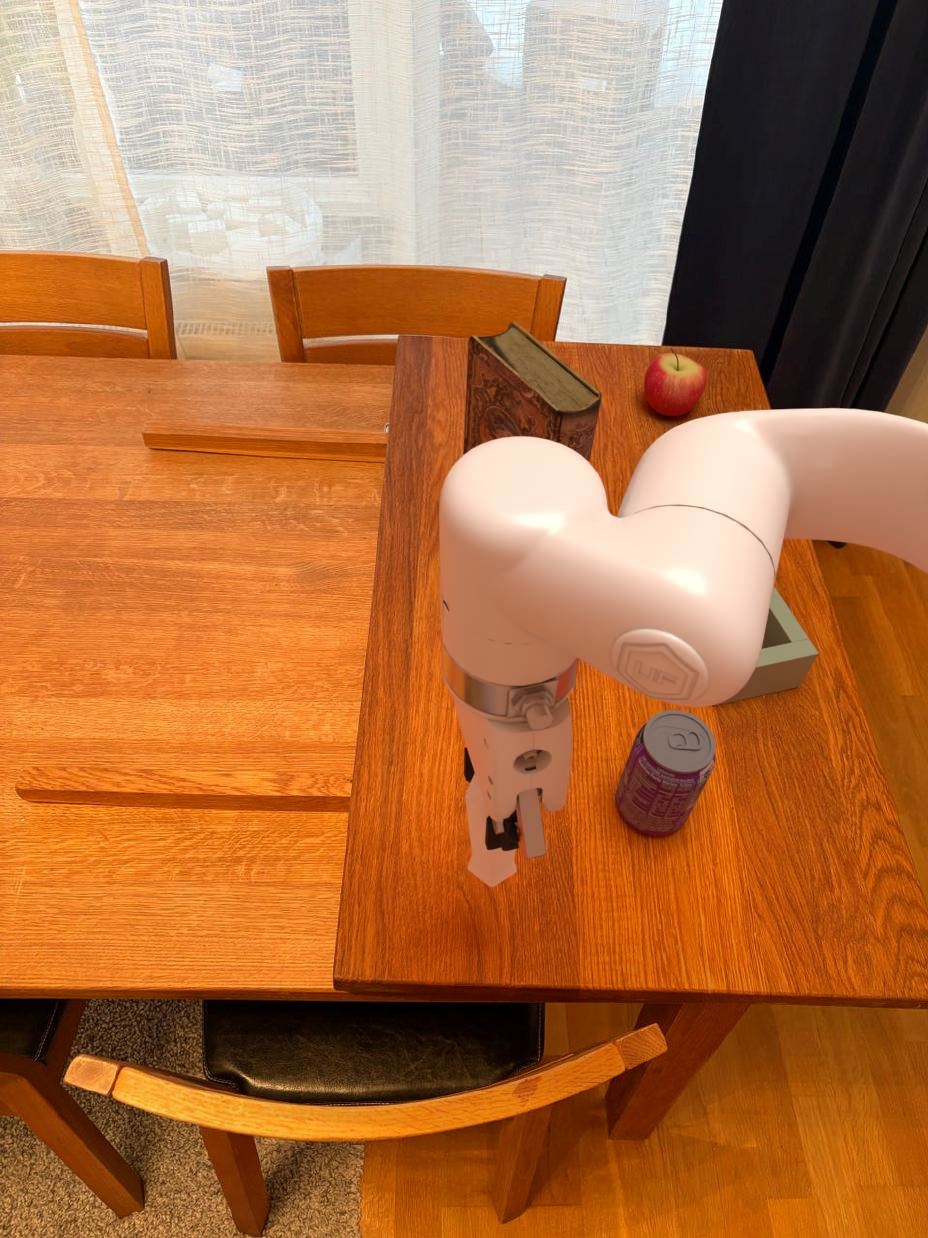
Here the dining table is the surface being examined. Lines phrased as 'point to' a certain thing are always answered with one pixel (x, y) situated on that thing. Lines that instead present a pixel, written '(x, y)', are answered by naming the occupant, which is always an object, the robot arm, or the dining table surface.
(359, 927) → the dining table surface
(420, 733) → the dining table surface
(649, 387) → the apple
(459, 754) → the dining table surface
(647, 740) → the beverage can
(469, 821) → the perfume bottle
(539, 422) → the book
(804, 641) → the holder
